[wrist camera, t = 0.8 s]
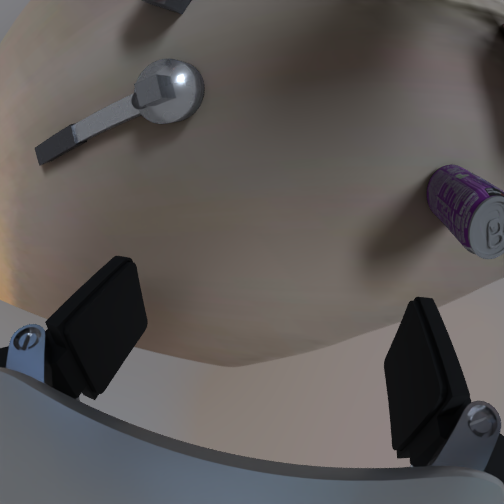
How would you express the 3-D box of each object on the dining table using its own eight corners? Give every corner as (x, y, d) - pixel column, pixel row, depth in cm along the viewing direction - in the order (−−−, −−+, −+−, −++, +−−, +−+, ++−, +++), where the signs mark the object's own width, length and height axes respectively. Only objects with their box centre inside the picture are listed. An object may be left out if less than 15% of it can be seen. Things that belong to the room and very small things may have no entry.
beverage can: (475, 207, 30) (523, 248, 20) (432, 225, 33) (470, 274, 22) (463, 156, 28) (516, 181, 18) (417, 174, 31) (458, 207, 20)
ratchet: (53, 174, 41) (26, 186, 35) (42, 132, 38) (14, 140, 32) (211, 111, 32) (190, 113, 27) (196, 52, 29) (172, 43, 23)
